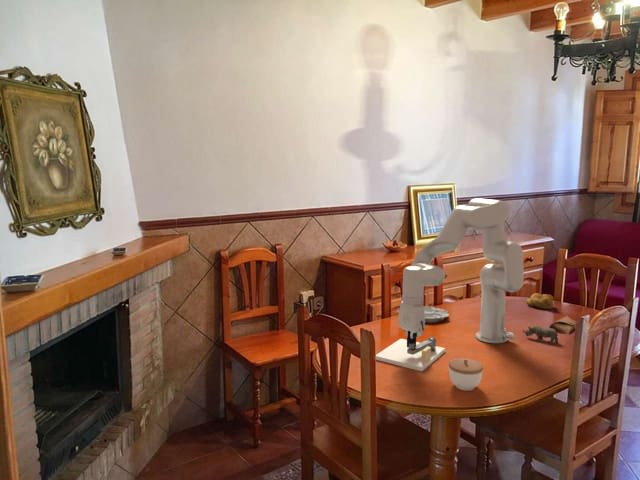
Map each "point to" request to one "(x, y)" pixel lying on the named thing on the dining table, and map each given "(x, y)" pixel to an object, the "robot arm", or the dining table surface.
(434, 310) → the brain slice
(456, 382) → the lidded jar
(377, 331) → the dining table surface
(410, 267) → the robot arm
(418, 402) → the dining table surface
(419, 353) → the door board
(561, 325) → the sunglasses case
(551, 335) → the rhino figurine
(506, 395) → the dining table surface
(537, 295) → the bread roll
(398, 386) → the dining table surface
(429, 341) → the bar
